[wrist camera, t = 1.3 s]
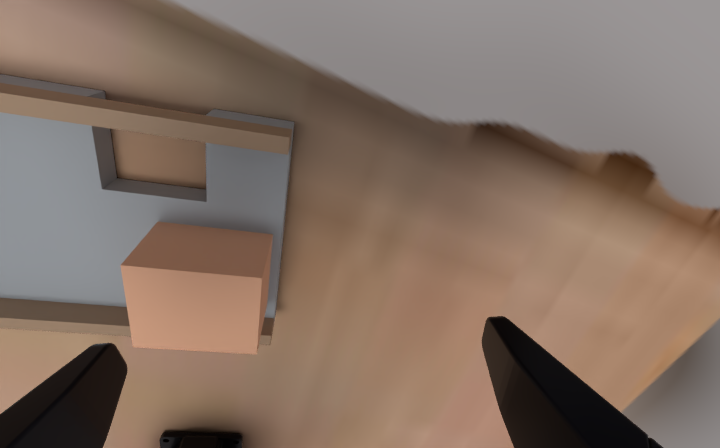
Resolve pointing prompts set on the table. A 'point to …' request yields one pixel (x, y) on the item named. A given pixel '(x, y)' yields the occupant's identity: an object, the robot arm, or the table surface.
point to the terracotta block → (198, 288)
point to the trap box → (117, 199)
